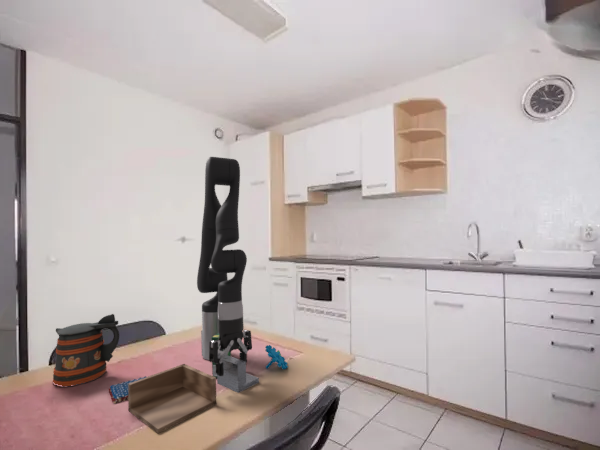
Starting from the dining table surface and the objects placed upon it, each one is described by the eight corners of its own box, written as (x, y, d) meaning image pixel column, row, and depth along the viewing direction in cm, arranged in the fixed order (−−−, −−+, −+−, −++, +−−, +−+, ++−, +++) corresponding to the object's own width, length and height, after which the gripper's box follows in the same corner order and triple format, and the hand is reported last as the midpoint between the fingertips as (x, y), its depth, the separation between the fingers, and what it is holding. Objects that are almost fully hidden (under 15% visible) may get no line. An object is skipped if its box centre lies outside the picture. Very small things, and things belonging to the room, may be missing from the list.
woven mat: (107, 392, 95) (107, 385, 95) (146, 381, 102) (146, 375, 102) (112, 406, 87) (112, 398, 87) (153, 394, 93) (153, 386, 93)
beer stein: (125, 363, 116) (124, 308, 116) (115, 380, 102) (114, 317, 103) (63, 372, 110) (63, 313, 111) (44, 391, 96) (43, 324, 97)
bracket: (217, 383, 98) (216, 357, 98) (237, 374, 104) (237, 349, 104) (238, 393, 91) (237, 364, 92) (259, 382, 97) (258, 356, 98)
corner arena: (128, 410, 83) (128, 383, 84) (184, 387, 96) (184, 363, 96) (157, 433, 73) (157, 402, 73) (216, 403, 86) (215, 377, 86)
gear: (286, 370, 102) (265, 346, 104) (274, 383, 102) (252, 360, 104) (291, 361, 113) (271, 340, 115) (279, 373, 113) (260, 352, 115)
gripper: (240, 309, 104) (242, 360, 103) (202, 319, 93) (204, 375, 92) (256, 312, 99) (258, 365, 99) (218, 322, 88) (220, 382, 88)
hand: (232, 370), depth 96 cm, fingers open, 8 cm apart
